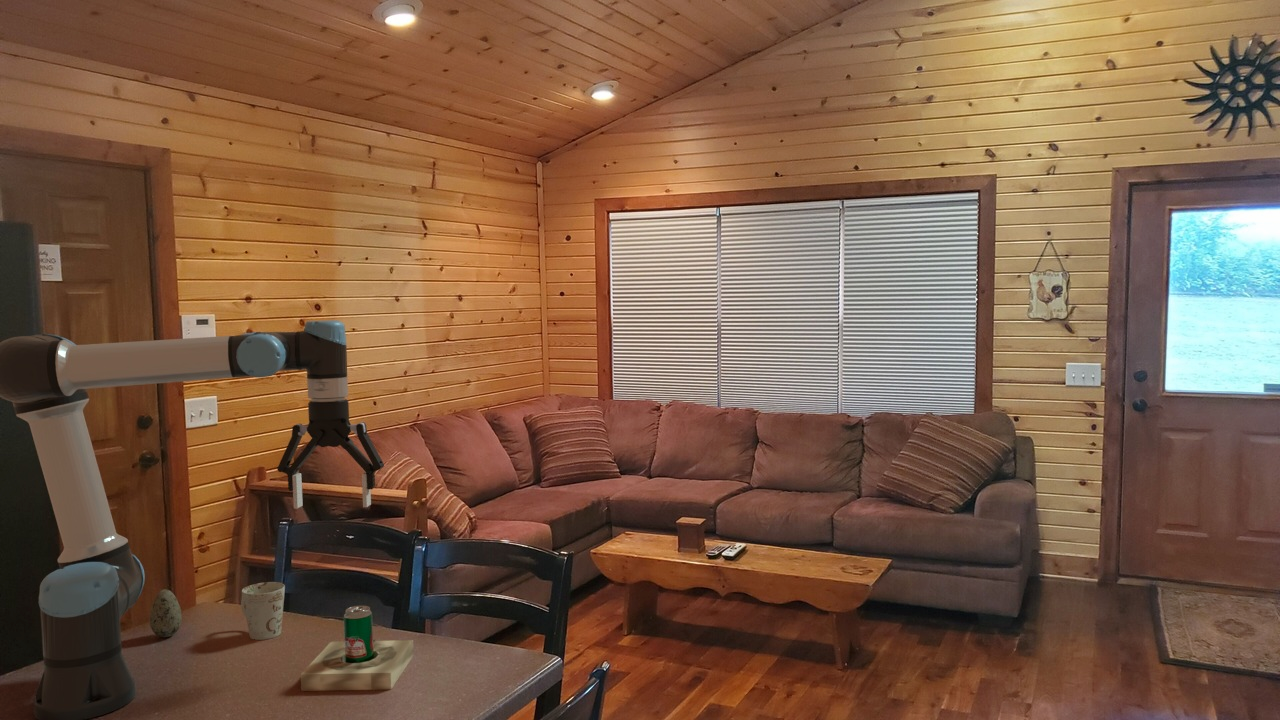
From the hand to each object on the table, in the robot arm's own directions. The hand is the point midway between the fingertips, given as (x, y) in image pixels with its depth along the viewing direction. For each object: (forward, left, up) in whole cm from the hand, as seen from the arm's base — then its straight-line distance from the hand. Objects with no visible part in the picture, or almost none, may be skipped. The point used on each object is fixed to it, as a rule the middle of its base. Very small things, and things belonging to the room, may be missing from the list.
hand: (332, 506), depth 183 cm
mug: (-20, +10, -29) cm, 37 cm away
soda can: (+8, -12, -29) cm, 32 cm away
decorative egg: (-39, +9, -29) cm, 49 cm away
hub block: (+8, -12, -29) cm, 32 cm away
